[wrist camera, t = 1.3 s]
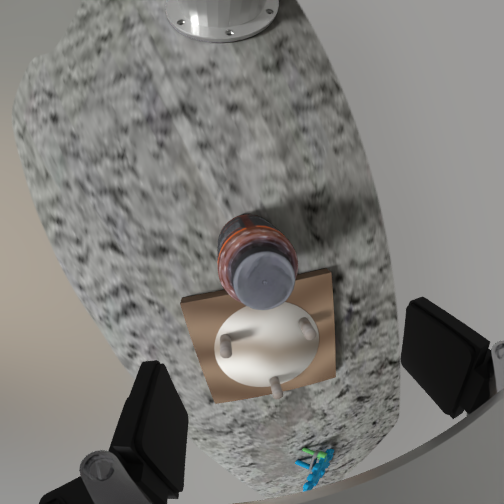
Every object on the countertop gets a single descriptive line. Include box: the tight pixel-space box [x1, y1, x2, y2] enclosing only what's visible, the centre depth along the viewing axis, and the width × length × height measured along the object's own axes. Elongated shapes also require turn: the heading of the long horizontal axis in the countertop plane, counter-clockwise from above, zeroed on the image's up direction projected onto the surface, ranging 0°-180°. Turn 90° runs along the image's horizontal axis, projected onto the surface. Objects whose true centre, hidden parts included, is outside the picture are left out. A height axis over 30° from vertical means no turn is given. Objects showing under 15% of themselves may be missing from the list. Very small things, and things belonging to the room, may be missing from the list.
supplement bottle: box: [218, 214, 298, 310], centre depth 22 cm, size 6×6×11 cm
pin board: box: [180, 268, 336, 404], centre depth 29 cm, size 15×16×4 cm
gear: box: [295, 447, 334, 491], centre depth 37 cm, size 11×6×10 cm
